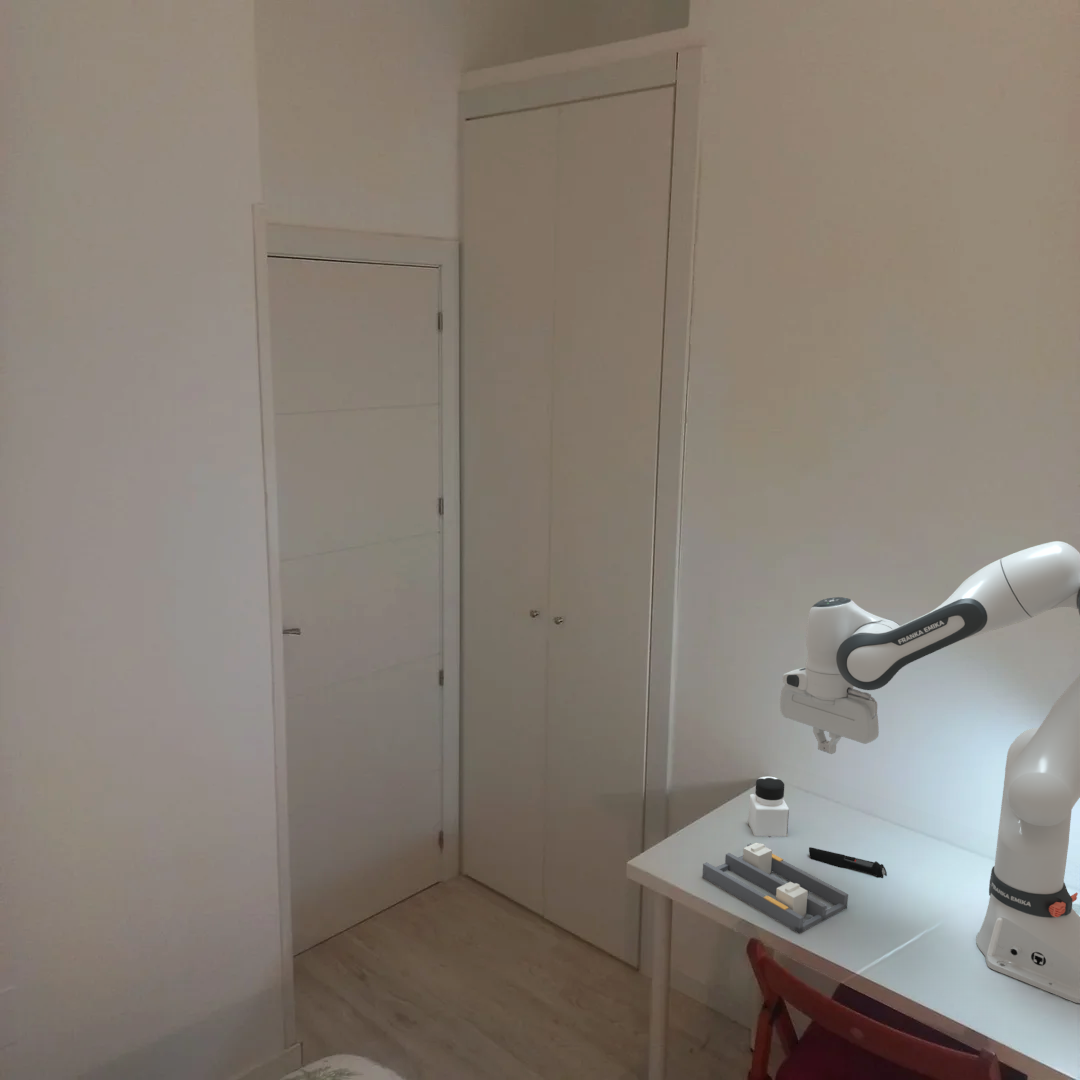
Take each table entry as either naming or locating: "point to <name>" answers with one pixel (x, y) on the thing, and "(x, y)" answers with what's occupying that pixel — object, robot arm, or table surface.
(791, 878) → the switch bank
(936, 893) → the table surface
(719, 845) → the table surface
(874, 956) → the table surface
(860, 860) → the electric trimmer
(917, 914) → the table surface
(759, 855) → the white rectangular block
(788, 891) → the white boxy block
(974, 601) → the robot arm
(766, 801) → the medicine bottle
